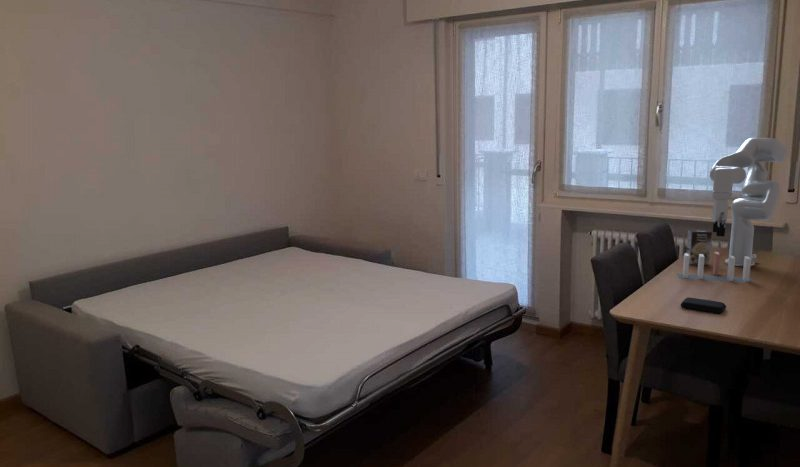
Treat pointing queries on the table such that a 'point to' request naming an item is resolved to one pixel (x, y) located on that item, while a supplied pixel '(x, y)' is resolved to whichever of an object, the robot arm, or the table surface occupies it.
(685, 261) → the domino
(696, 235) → the coffee box
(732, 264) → the domino
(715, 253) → the red domino
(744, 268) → the domino
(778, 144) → the robot arm
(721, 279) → the domino mat
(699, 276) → the domino
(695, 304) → the carrying case or bag
